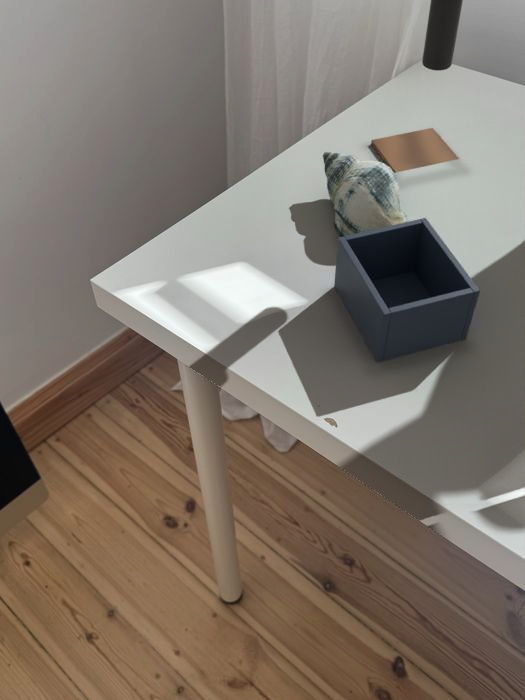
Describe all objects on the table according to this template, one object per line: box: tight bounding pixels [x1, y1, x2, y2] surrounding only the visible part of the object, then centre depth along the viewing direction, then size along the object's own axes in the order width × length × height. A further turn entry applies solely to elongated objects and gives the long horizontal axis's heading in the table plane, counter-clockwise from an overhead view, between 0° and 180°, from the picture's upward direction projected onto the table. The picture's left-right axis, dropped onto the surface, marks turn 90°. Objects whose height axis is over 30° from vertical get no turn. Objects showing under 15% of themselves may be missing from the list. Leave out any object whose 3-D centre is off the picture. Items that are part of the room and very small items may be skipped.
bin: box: [333, 217, 481, 364], centre depth 66 cm, size 9×10×7 cm
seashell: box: [322, 151, 409, 237], centre depth 75 cm, size 6×8×12 cm
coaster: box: [370, 127, 460, 174], centre depth 85 cm, size 8×8×1 cm
